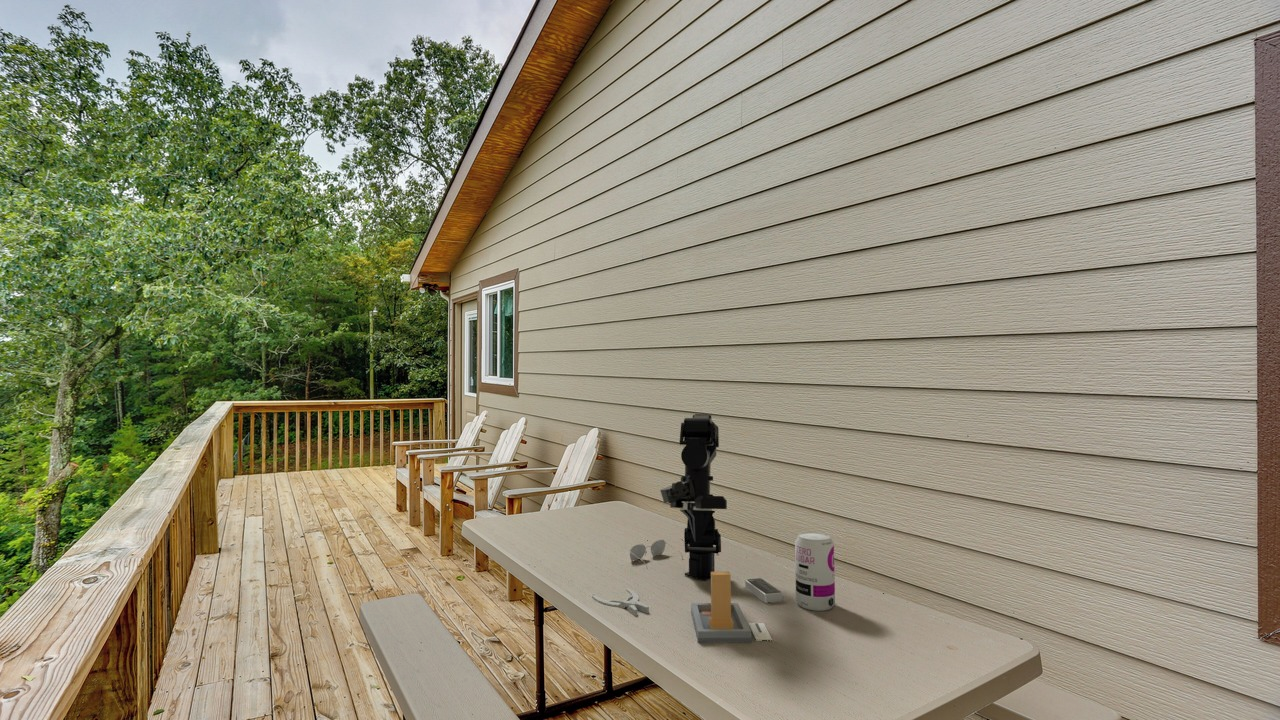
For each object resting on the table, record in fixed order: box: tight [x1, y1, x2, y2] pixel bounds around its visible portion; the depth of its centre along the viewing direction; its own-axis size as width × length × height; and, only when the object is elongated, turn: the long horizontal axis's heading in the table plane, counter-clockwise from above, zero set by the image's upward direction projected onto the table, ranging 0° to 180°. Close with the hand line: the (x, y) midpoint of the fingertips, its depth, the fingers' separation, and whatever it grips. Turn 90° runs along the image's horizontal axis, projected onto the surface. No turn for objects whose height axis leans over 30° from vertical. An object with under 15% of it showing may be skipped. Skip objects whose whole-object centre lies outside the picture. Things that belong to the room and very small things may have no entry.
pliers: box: [591, 588, 650, 617], centre depth 135 cm, size 10×2×15 cm
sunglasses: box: [628, 539, 684, 569], centre depth 168 cm, size 14×8×5 cm, turn 129°
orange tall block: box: [709, 571, 734, 629], centre depth 119 cm, size 3×4×10 cm
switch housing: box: [690, 602, 773, 643], centre depth 122 cm, size 15×14×2 cm
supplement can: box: [794, 531, 836, 612], centre depth 134 cm, size 8×8×15 cm
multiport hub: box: [744, 577, 784, 604], centre depth 141 cm, size 4×11×2 cm, turn 14°
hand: (697, 541), depth 138 cm, fingers closed
